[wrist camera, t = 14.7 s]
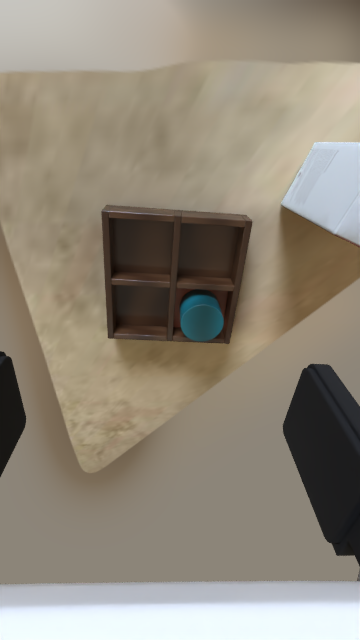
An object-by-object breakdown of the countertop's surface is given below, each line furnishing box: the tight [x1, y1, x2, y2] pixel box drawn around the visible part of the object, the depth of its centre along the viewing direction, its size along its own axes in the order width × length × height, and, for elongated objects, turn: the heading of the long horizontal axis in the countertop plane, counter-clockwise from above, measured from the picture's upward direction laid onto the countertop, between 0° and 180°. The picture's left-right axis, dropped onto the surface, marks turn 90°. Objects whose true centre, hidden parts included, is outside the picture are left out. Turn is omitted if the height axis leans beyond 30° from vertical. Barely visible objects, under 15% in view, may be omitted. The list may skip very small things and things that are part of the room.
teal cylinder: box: [179, 289, 224, 342], centre depth 31 cm, size 4×4×4 cm
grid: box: [102, 205, 252, 344], centre depth 31 cm, size 13×13×2 cm
